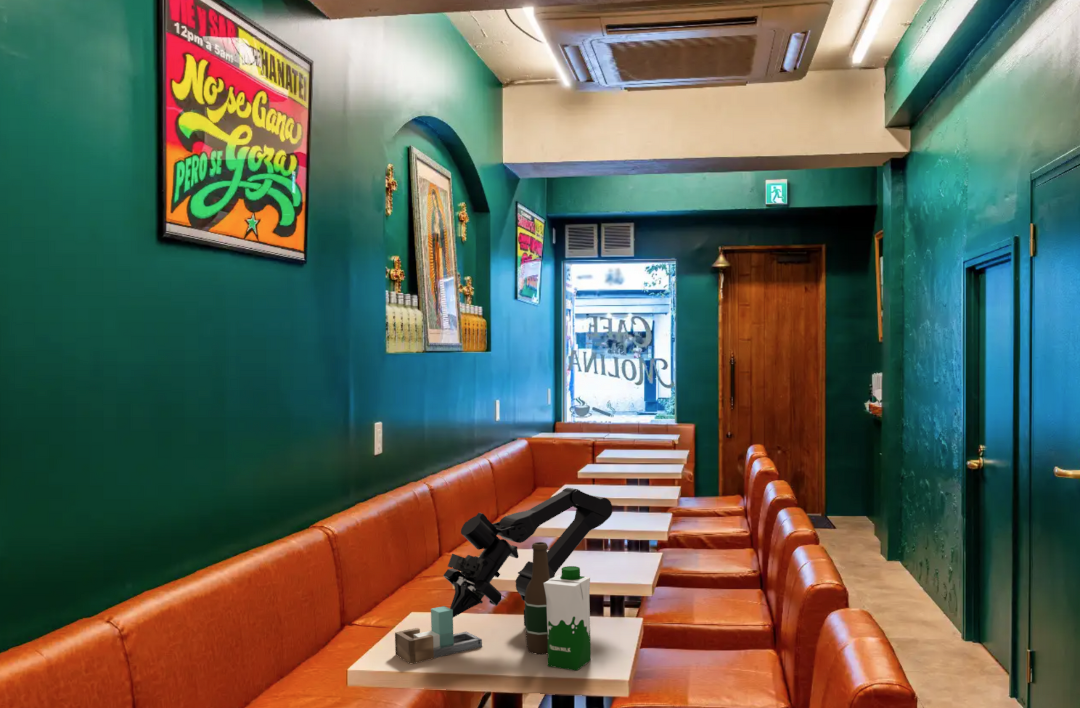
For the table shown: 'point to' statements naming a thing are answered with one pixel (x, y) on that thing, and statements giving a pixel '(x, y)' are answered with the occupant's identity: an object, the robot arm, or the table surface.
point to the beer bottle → (537, 602)
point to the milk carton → (568, 619)
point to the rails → (459, 644)
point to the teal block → (440, 627)
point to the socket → (413, 646)
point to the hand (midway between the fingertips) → (449, 616)
